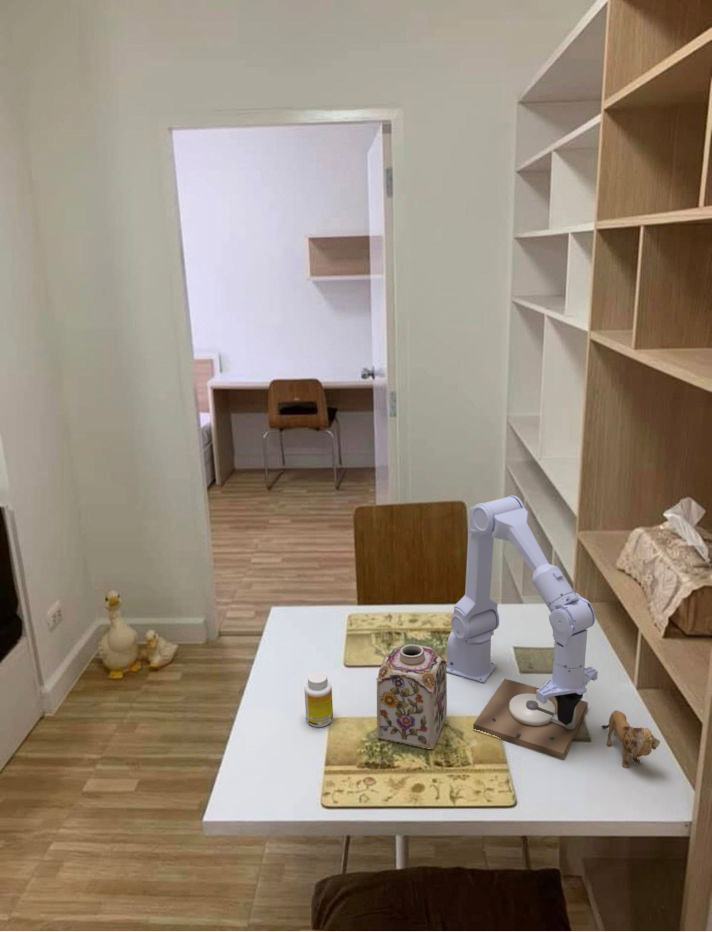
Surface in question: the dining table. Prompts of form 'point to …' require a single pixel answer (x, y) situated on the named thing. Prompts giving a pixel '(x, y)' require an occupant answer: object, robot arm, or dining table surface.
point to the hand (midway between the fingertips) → (564, 721)
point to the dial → (535, 711)
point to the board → (536, 738)
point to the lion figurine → (630, 738)
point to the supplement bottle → (318, 700)
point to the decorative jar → (412, 695)
